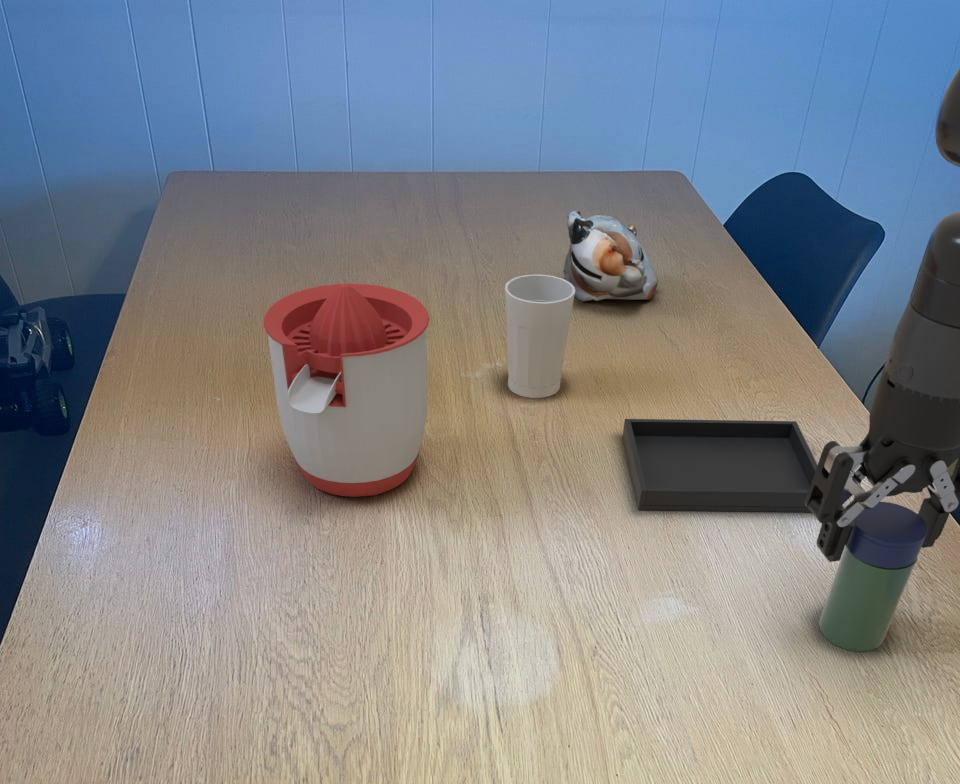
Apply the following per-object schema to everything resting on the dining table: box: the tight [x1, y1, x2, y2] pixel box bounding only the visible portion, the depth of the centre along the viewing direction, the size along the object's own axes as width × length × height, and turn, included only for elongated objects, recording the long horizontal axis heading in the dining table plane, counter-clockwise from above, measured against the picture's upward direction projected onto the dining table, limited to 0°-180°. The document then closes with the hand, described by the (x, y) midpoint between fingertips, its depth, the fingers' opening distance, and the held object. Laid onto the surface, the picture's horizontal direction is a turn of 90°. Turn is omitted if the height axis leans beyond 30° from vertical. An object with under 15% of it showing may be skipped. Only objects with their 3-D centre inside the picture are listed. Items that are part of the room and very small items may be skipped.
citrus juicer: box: [263, 283, 430, 498], centre depth 95 cm, size 16×17×20 cm
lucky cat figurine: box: [563, 209, 659, 303], centre depth 133 cm, size 15×12×14 cm
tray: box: [621, 418, 818, 513], centre depth 103 cm, size 19×14×2 cm
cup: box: [504, 274, 575, 399], centre depth 113 cm, size 8×8×12 cm
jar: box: [818, 546, 918, 653], centre depth 82 cm, size 6×6×11 cm
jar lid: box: [845, 501, 928, 568], centre depth 78 cm, size 6×6×2 cm
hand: (874, 548), depth 80 cm, fingers open, 8 cm apart
